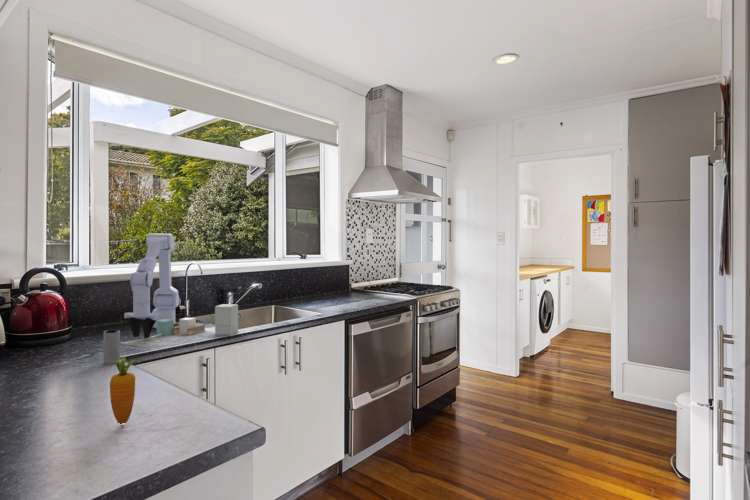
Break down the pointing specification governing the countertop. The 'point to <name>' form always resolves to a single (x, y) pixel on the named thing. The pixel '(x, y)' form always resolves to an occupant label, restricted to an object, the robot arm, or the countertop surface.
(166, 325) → the strung block
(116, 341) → the planter
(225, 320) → the supplement box
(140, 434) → the countertop surface
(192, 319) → the plain block
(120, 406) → the carrot
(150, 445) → the countertop surface
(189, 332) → the lane shelf
